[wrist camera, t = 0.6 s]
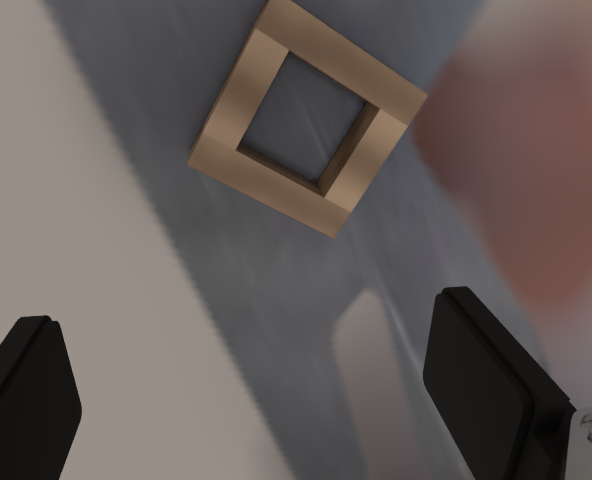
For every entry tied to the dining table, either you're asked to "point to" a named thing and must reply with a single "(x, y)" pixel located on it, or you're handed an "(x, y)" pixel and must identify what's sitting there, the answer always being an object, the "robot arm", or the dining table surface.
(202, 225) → the dining table surface
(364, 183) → the socket block
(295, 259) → the dining table surface
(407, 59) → the dining table surface
